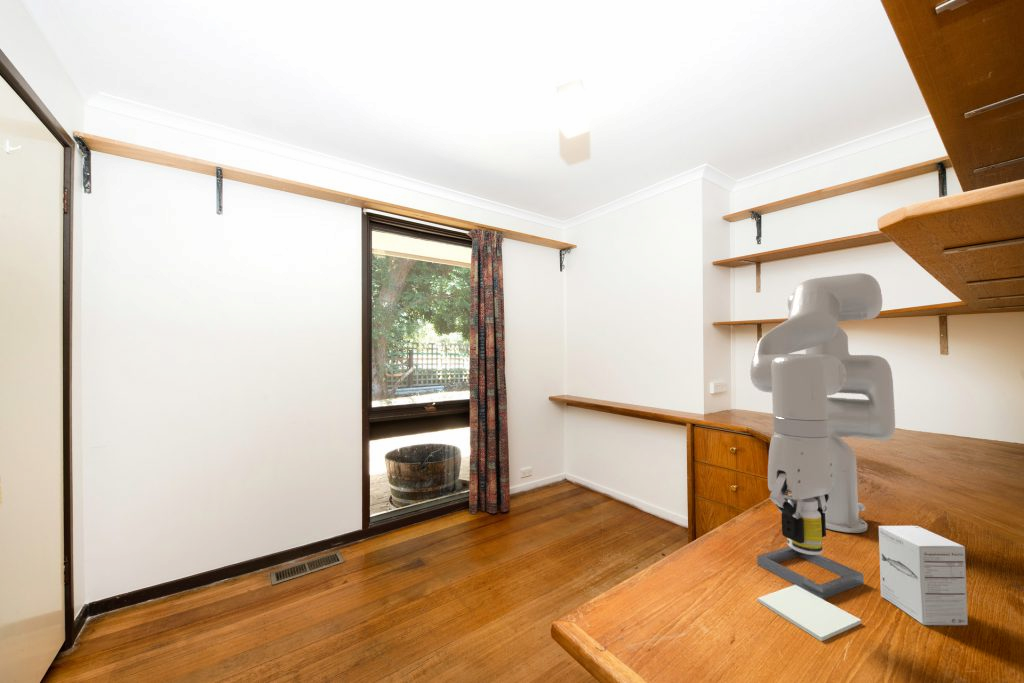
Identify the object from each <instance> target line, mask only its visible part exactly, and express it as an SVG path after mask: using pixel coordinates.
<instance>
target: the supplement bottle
mask: <svg viewBox="0 0 1024 683" xmlns="http://www.w3.org/2000/svg"><path fill="white" fill-rule="evenodd" d="M789 495H790V496H791V495H792V493H790V494H789ZM788 502H789V503H790V504H791V505H792V506H794V501H792V500H789V499H788ZM817 510H818V501H817V499H815V498H808V499H804V500H802V508H801V516H800V518H803V519H804V543H798V542H796V541H794V540H791V539H789V538H787V537H786V539H787V540H786V541H787V545H788V547H789V546H790V547H791V548H792V549H794V550H796V551H798V552H801V553H805V554H810V555H818V554H819V555H821V554H822V553H823V537H822V523H821V514H820V513H819V512H818V511H817Z"/></svg>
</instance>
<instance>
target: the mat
mask: <svg viewBox="0 0 1024 683" xmlns="http://www.w3.org/2000/svg"><path fill="white" fill-rule="evenodd" d="M757 602H758V603H760V604H761V605H762V606H764V607H766V608H767V609H769V610H770V611H772V612H773V613H776V614H777V615H779V616H780V617H782V618H783V619H785V620H786V621H788V622H790V623H791V624H793V625H794V626H796V627H797V628H799V629H801V630H803V632H805V633H807V634H809V635H810V636H812V637H813V638H815V639H816V640H818V641H820V642H823V641H826V640H828V639H830V638H832V637H834V636H836V635H839V634H841V633H843V632H846V631H848V630H850V629H853V628H855V627H856V626H859V625H861V624H862V620H861V619H860V618H859V617H857V616H855V615H853V614H851V613H849V612H847V611H846V610H844V609H842V608H839V607H838V606H836V605H835V604H832V603H830V602H828V601H827V600H826V599H821V598H819V597H817V596H816V595H814V594H812V593H810V592H808V591H806V590H804V589H802V588H801V587H799V586H797V585H795V584H793V585H790V586H788V587H784V588H782V589H779V590H777V591H776V590H775V591H774V592H771V593H767V594H765V595H763V596H759V597H757Z"/></svg>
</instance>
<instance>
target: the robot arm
mask: <svg viewBox="0 0 1024 683" xmlns="http://www.w3.org/2000/svg"><path fill="white" fill-rule="evenodd" d="M787 308H788V310H789V312H788V316H787V320H785V321H783V322H781V323H780V324H778V325H777V326H775V327H773V328H772V329H770V330H769V331H768V332H766V333H765V334H763V335H762V337H760V339H759V340H758V342H757V343H756V345H755V349H754V352H753V356H752V360H751V364H750V371H749V372H750V373H749V374H750V379H751V380H750V381H751V384H752V385H753V386H754V387H755V388H756V389H757V390H758V391H761V392H764V393H771V394H772V395H771V396H772V397H771V398H772V425H773V426H772V428H773V435H771V438H770V443H769V450H768V464H767V487H768V490H769V491H770V494H769V499H770V500H771V501H772V502H773V503H774V504H775V507H777V508H778V512H779V513H780V514H781V535H782V536H783V537H784V538H786V539H787V538H789V539H791V540H794V541H796V542H798V543H804V519H803V518H800V516H801V508H802V500H804V499H808V498H815V499H817V501H818V510H817V511H818V512H819V513H820V514H821V523H822V538H825V537H826V536H827V530H831V531H834V532H835V531H836V532H839V533H840V532H842V533H849V534H850V533H851V534H860V533H861V534H862V533H865V532H867V530H868V523H867V522H866V520H864V519H862V518H860V517H859V515H860V514H859V513H860V512H862V511H863V512H864V511H865V510H866V506H865V505H864V503H862V502H859V498H858V496H859V495H858V476H857V475H858V474H857V469H858V468H857V458H856V454H855V451H854V450H853V449H852V447H851V446H850V445H848V443H847V442H846V441H845V440H844V439H843V438H857V439H866V440H876V441H886V440H890V439H892V438H893V436H894V435H895V431H896V413H895V397H894V396H895V395H894V392H895V391H894V380H893V372H892V368H891V366H890V364H889V361H888V360H887V359H885V358H884V357H882V356H880V355H874V354H873V355H872V354H871V355H869V354H855V355H854V354H850V352H849V340H848V339H849V338H848V335H847V332H845V330H844V329H843V328H842V327H841V326H840V324H839V323H840V322H846V321H848V322H849V321H850V322H851V321H863V320H865V321H866V320H873V319H875V318H877V317H878V316H879V315H880V314H881V311H882V308H883V295H882V290H881V287H880V284H879V282H878V281H877V279H876V278H875V277H874V276H872V274H869V273H868V274H867V273H861V272H860V273H858V272H857V273H856V272H855V273H850V274H841V275H831V276H823V277H816V278H811V279H807V280H805V281H802V282H800V283H798V285H797V286H796V287H795V288H794V290H793V292H792V293H791V294H790V295H789V296H788V298H787ZM804 350H805V353H796V352H800V351H804ZM835 394H853V395H854V394H855V395H863V396H865V397H867V399H865V398H864V399H863V398H862V399H860V398H846V397H832V395H835ZM829 396H831V397H829ZM842 437H843V438H842ZM789 493H790V494H792V495H791V496H790V494H789ZM788 499H789V500H792V501H794V506H792V505H791V504H790V503H789V502H788Z"/></svg>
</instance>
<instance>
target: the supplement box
mask: <svg viewBox="0 0 1024 683" xmlns="http://www.w3.org/2000/svg"><path fill="white" fill-rule="evenodd" d="M878 548H879V549H878V551H879V553H878V554H879V576H880V578H879V580H880V596H881V598H883V599H885V600H886V601H888V602H889V603H891V604H893V605H894V606H896V607H897V608H899V609H900V610H902V612H904V613H906V614H907V615H909V616H910V617H911V618H912V619H915V620H916V621H917V622H919V623H920V624H921V625H923V626H968V624H969V623H968V599H967V598H968V596H967V594H968V592H967V570H966V547H965V546H964V545H962V544H960V543H957V542H955V541H953V540H950V539H948V538H946V537H943V535H939V534H937V533H934V532H932V531H930V530H927V529H926V528H923V527H921V526H920V525H919V526H918V525H878Z"/></svg>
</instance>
